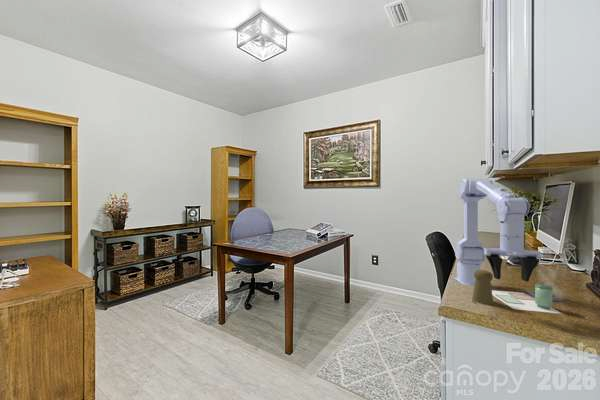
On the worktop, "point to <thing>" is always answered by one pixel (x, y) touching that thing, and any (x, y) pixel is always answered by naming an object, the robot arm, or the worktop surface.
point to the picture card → (520, 301)
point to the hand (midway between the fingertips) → (510, 279)
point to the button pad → (554, 297)
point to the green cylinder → (543, 296)
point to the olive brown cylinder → (482, 287)
